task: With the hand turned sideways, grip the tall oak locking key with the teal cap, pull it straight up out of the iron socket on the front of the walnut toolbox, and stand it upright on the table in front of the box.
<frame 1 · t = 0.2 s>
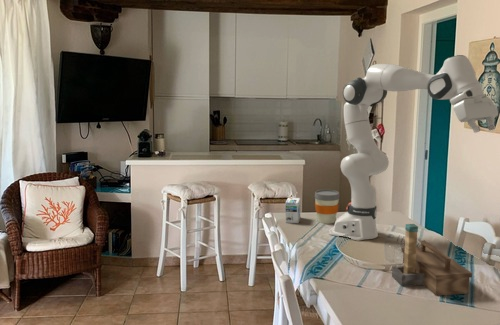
hand: (485, 130, 178), 54 cm above the table, tool tilted 30°, fingers open, 8 cm apart
reusable coffee cup: (326, 221, 255), on the table
light bulb box: (292, 220, 256), on the table
wooden key: (408, 280, 182), resting in toolbox
toolbox: (433, 278, 183), on the table
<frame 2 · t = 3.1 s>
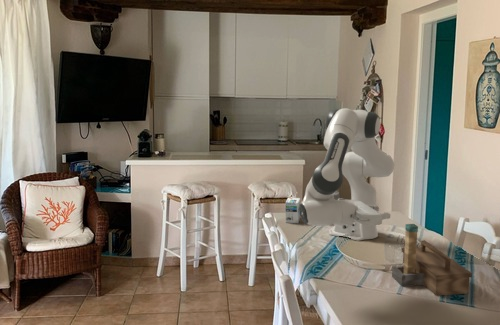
hand: (383, 212, 175), 26 cm above the table, tool horizontal, fingers open, 8 cm apart
nothing on the table moved.
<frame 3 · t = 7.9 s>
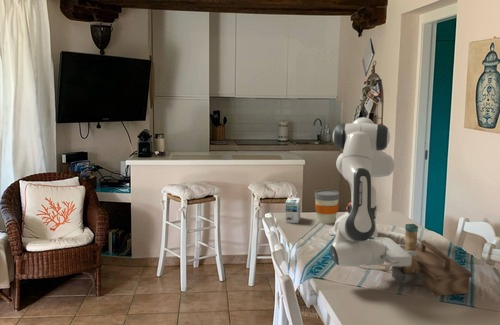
hand: (412, 250, 180), 12 cm above the table, tool horizontal, fingers closed on wooden key, 3 cm apart
wooden key: (408, 280, 182), resting in toolbox, touching gripper
everything else where it was.
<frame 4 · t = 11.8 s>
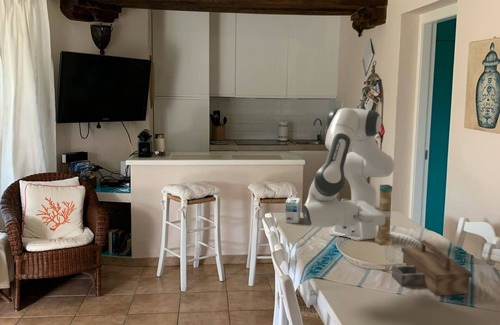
hand: (387, 211, 175), 26 cm above the table, tool horizontal, fingers closed on wooden key, 3 cm apart
wooden key: (383, 243, 177), point 15 cm above the table, touching gripper
everything else where it was.
when the fingers open (13 cm above the table, at t = 15.6 s): wooden key drops 1 cm, on the table.
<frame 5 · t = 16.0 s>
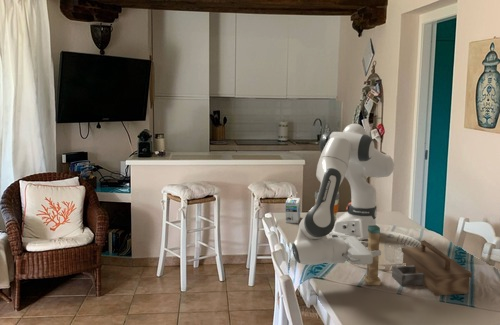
hand: (375, 248, 178), 13 cm above the table, tool horizontal, fingers open, 7 cm apart
wooden key: (372, 282, 180), on the table
everything else where it was.
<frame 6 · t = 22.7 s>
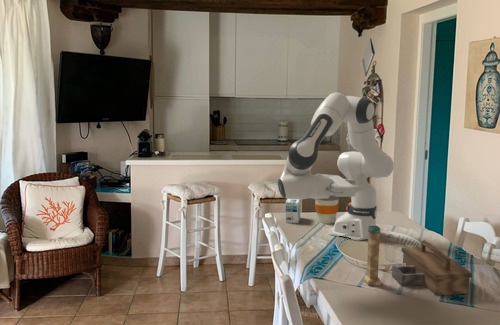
hand: (359, 185, 183), 34 cm above the table, tool horizontal, fingers open, 8 cm apart
nothing on the table moved.
at the end: wooden key inside the target area (0.1 cm from its centre), on the table; wooden key tilted 0°; the gripper is holding nothing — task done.
